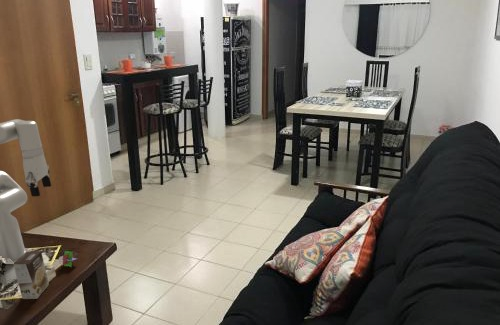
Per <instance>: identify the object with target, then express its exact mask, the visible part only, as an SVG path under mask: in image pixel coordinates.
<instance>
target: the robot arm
mask: <svg viewBox="0 0 500 325" xmlns="http://www.w3.org/2000/svg"><path fill="white" fill-rule="evenodd" d="M37 123H38V122H36V121H34V120H23V119H19V118H18V119H17V118H16V119H11V120H8V121H3V122H0V145H2V144H5V143H8V142H11V141H14V140H18V143H19V147H20V151H21V154H22V155H21V156H22V166H23V171H24V172H23V173H24V178H25V181H24V182H25V183H26V185H27V187H28V189H29V190H30V194H31V195H30V196H31V197H40V196H41V193H40V188H39V186H38V183H39V181H40V180H41V183H42V188H43V187H44V188H48V187H52V183H51V178H50V176H51V175H50V165H49V164H47V160H46V157H45V154H44V153H45V152H44V150H43V145H42V140H41V135H40V131H39V126H38V124H37ZM27 202H28V194H27V192H26V191H25V190H24V189H23V188H22V186H21V185H19V183H17V182H16V181H15V180H14V179H13V178H12V177H11V175H9V174H8V173H6V172H5V171H4V170H0V256H2V258H10V259H11V260H12V261H13V262H14V263H15V262H16V261H17V260H18V259H19V258H20V257H21V256H22V255H23V254H25V253H26V252H30V249H29V248H26V247H25V245H24V240H23V236H22V234H21V229H20V224H19V221H18V220H17V218H16V216H14V215H12V214H11V213H12V212H13V211H15V210H17V209H18V208H20V207H22V206H23V205H25V204H26V203H27Z"/></svg>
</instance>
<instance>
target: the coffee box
mask: <svg viewBox="0 0 500 325" xmlns="http://www.w3.org/2000/svg"><path fill="white" fill-rule="evenodd" d="M12 265H13V268H14V272H15V275H16V280H17V283H18V287H19V291H20V295H21V298H22V300H35V299H39V298H40V296H41V295H42V294H43V293H44V292H45V290H46V289H47V288H48V287H49V285H50V282H48V278H47V274H46V270H45V265H46V264H45V262H44V257H43V254H42V251H40V250H33V251H29V252H26V253H25V254H23V255H22V256H21V257H20V258H19V259H18V260H17V261H16V262H15V263H14V264H12Z"/></svg>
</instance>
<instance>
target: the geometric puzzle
mask: <svg viewBox="0 0 500 325" xmlns="http://www.w3.org/2000/svg"><path fill="white" fill-rule="evenodd" d="M63 253H64V254H63V255H62V256H61V255H60V256H59V257H58V263H59V264H60V265H62V266H63V265H64V266H63V267H68V266H69V267H68V268H73V263H74V261H76V260H77V257H76V258H74V255H75V253H74V252H73V251H71V250H70V251H68V250H64V252H63Z"/></svg>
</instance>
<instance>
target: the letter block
mask: <svg viewBox="0 0 500 325" xmlns="http://www.w3.org/2000/svg"><path fill="white" fill-rule="evenodd" d="M44 265H45V270H46V274H47V278H48V282H49V283H50V282H51V281H52V280H53V279H54V278H55V277H56V276H57V275H56V271H55V270H56V269H55V265H51V264H50V265H49V264H44Z"/></svg>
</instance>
